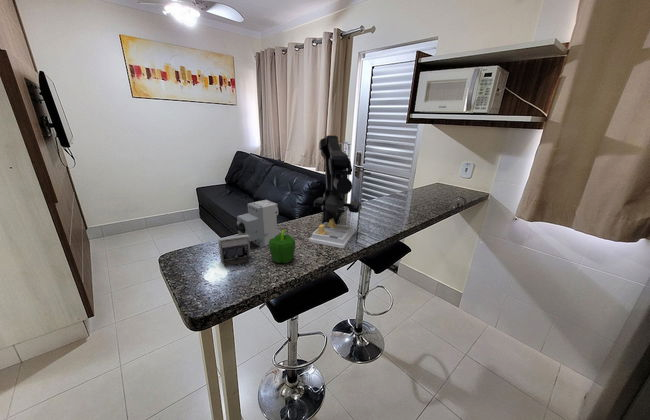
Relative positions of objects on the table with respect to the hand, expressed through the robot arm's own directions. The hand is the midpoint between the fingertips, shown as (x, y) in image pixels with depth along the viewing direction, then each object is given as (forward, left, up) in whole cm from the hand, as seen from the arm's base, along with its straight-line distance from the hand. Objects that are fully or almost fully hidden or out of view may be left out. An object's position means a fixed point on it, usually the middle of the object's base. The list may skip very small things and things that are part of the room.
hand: (336, 224), depth 104 cm
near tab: (-4, -8, -3) cm, 9 cm away
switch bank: (0, -4, -4) cm, 6 cm away
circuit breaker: (-24, -21, -4) cm, 32 cm away
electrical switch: (-22, -35, -4) cm, 42 cm away
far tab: (-2, 0, -3) cm, 3 cm away
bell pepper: (-9, -28, -4) cm, 30 cm away
